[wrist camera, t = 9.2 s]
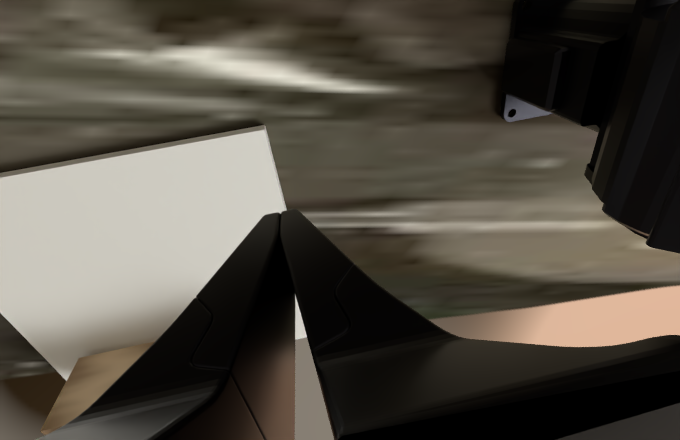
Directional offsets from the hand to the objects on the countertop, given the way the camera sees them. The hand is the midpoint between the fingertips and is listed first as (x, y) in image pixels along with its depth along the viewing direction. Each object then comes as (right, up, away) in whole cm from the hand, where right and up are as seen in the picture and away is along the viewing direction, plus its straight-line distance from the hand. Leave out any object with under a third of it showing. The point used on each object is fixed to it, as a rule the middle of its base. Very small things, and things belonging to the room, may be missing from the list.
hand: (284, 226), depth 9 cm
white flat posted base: (-11, -3, +15) cm, 19 cm away
